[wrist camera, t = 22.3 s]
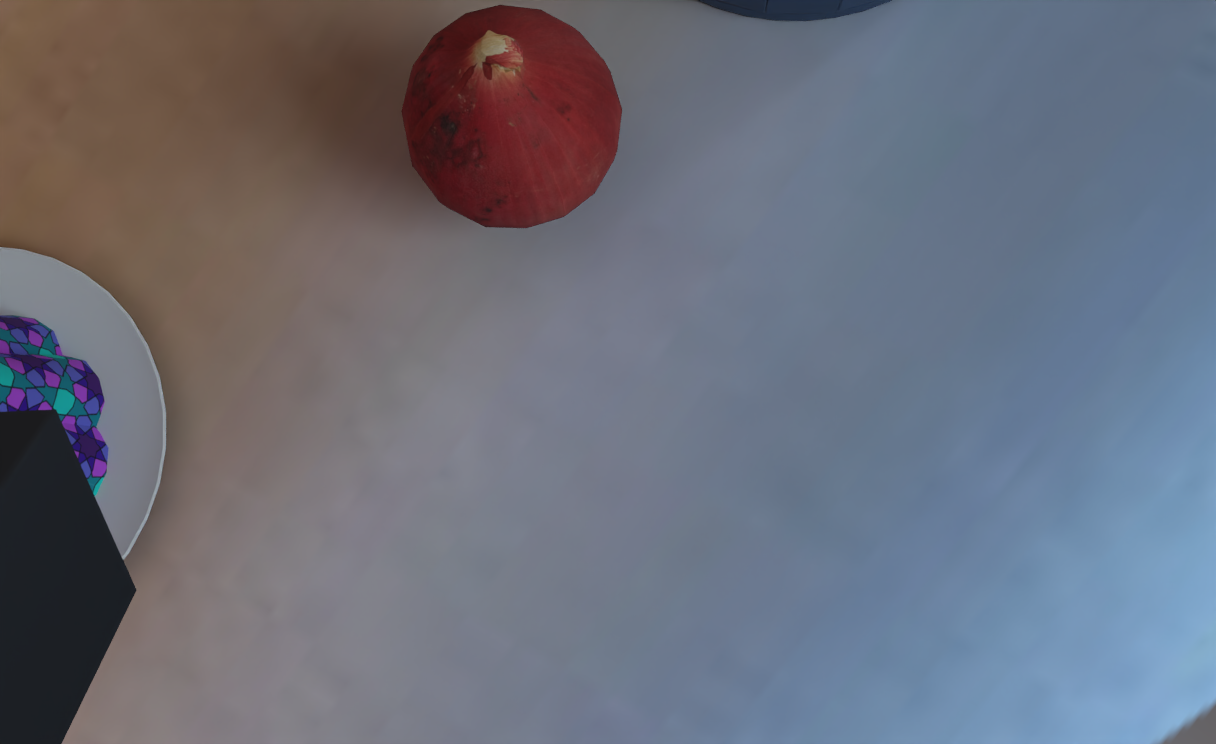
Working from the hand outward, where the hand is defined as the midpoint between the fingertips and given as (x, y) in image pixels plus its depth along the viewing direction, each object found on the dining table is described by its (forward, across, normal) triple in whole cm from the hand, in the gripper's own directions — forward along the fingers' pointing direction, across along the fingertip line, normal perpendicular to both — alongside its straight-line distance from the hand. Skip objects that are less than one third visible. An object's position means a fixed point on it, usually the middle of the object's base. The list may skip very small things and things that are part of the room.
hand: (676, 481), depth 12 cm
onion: (+22, -4, -6) cm, 23 cm away
